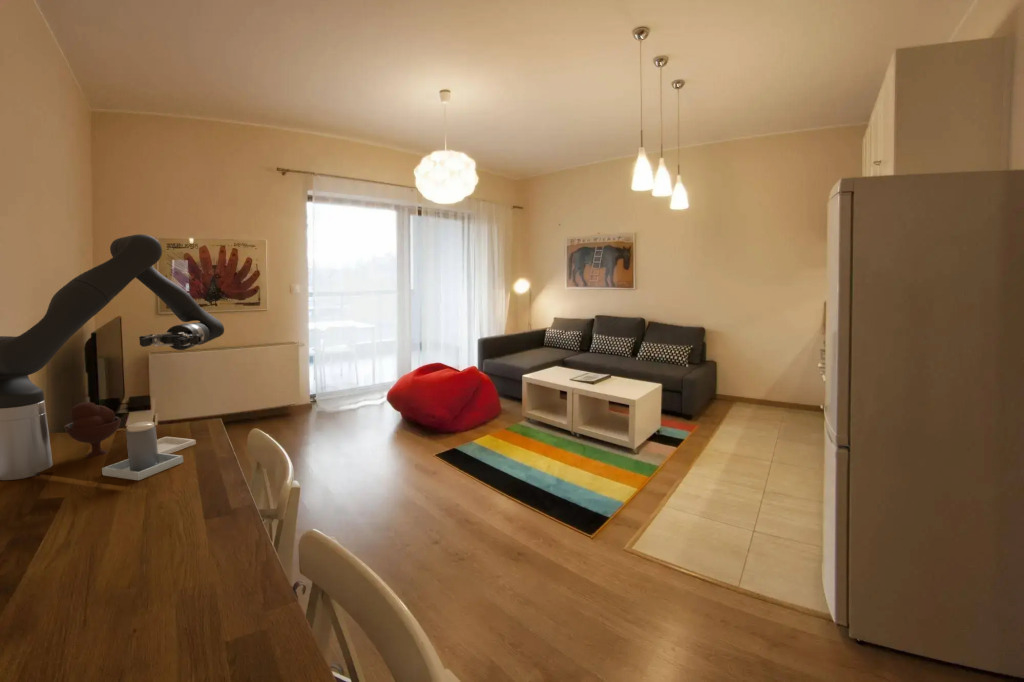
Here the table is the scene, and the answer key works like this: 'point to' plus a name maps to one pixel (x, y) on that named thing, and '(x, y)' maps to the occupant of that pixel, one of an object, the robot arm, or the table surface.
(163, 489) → the table surface
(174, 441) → the tray
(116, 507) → the table surface
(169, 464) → the glazed dish
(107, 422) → the ice cream bowl
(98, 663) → the table surface
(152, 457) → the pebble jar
